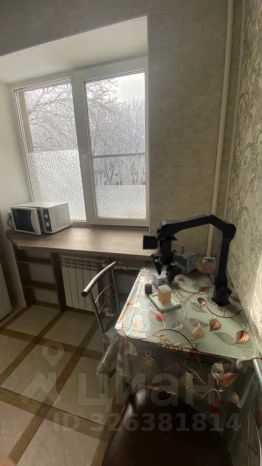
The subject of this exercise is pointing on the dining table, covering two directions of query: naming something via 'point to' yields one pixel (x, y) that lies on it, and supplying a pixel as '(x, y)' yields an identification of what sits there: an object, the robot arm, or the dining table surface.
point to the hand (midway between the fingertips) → (164, 279)
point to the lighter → (208, 265)
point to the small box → (187, 262)
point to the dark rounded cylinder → (148, 288)
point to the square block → (164, 294)
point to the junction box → (162, 280)
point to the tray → (164, 307)
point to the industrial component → (182, 249)
